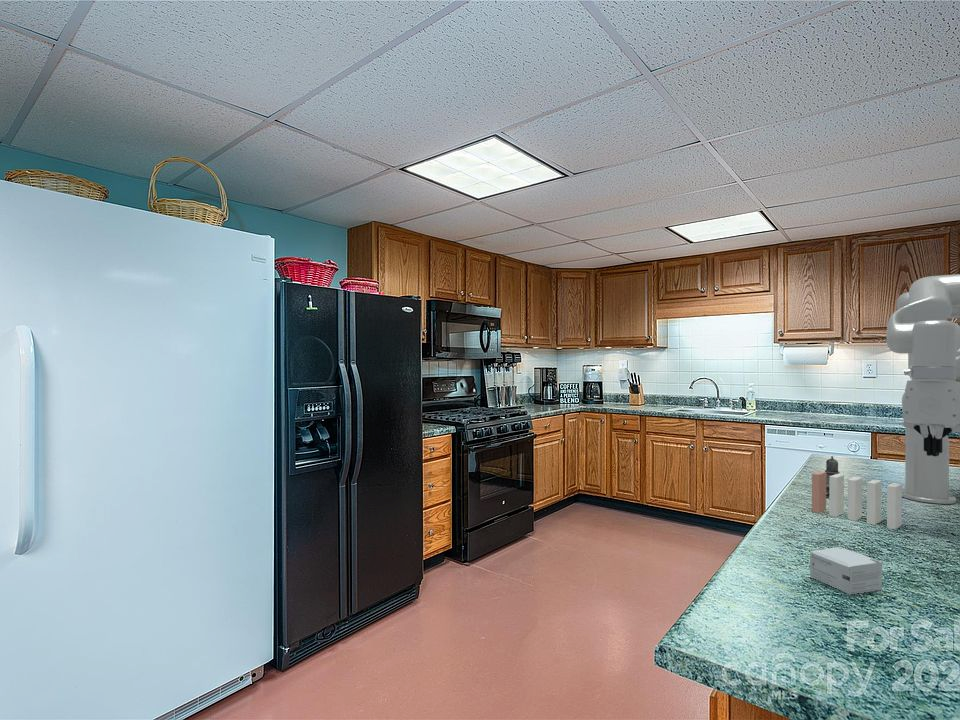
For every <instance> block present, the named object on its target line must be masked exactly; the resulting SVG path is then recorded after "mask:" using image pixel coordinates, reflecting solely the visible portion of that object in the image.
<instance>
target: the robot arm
mask: <svg viewBox="0 0 960 720" xmlns="http://www.w3.org/2000/svg"><path fill="white" fill-rule="evenodd" d="M908 290H909V291H908V292H903V293H902V294H900V295H899V296H898V298H897V300H896V310H895V311H894V312H893V313H892V314H891V315H890V316H889V319H888V321H887V326H886V335H885V336H886V339H885V340H886V345H887V347H888V349H889V350H890V351H891V352H892V353H896V354H904V355H905V354H907V362H908V363H907V365H908V369H904V370H903V375H904V376H909V378H910V380H907V381H906V384H905V388H904V393H903V395H902V396H901V407H902V419H903V423H902V426H903V427H904V430H905V432H904V433H905V444H904V445H905V447H904V448H905V451H904V452H905V453H904V454H905V459H904V463H905V466H904V467H905V469H904V473H905V475H904V476H905V477H904V480H905V481H904V482H905V483H904V487H905V488H902V498H905V499H907V500H911V501H917V502H921V503H929V504H938V505H940V504H941V505H949V504H950V505H951V504H956V503H957V497H955V496H954V495H951V494H950V438H949V436H948V435H949V434H951V433H960V325H959V324H958V323H956V322H954V321H950V320H948V319H960V273H959V274H958V273H957V274H944V275H932V276H925V277H922V278H919V279H917V280H915V281H914V282H913V283H911V284H910V286H909V289H908Z"/></svg>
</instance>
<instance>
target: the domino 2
mask: <svg viewBox="0 0 960 720" xmlns="http://www.w3.org/2000/svg"><path fill="white" fill-rule="evenodd" d="M861 517H862V518H863V477H860V476H859V477H858V476H853V477H849V478H848V479H847V520H848V519H849V520H848V521H852V522H853V521H855V522H856V521H858V520H860V519H862V518H861ZM859 518H860V519H859Z"/></svg>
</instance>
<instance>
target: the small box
mask: <svg viewBox="0 0 960 720" xmlns="http://www.w3.org/2000/svg"><path fill="white" fill-rule="evenodd" d="M809 559H810V561H809V562H810V563H809V567H810V571H809V572H810V573H809V577H812V578H811V579H813V578H814V579H813V580H815V579H816V580H815V581H818V580H819V581H818V582H820V581H821V582H820V583H822V582H823V583H822V584H824V583H825V584H824V585H826V584H828V585H830V586H829V587H831V586H832V587H831V588H833V587H834V588H833V589H835V588H837V589H839V590H841V591H843V592H845V593H847V594H846V595H848V594H849V595H848V596H851V595H850V594H855V595H858V594H857V593H860V594H865V593H864V592H866V593H870V591H872V592H877V591H882V590H881V589H883V562H882V561H880V560H878V559H874V558H872V557H869V556H866V555H864V554H862V553H859V552H857V551H856V552H855V551H853V550H850V549H847V548H844V547H841V546H835V547H830V548H823V549H817V550H810V558H809ZM828 585H827V586H828ZM837 589H836V590H837ZM839 590H838V591H839ZM876 590H877V591H876ZM841 591H840V592H841ZM843 592H842V593H843ZM845 593H844V594H845Z"/></svg>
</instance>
